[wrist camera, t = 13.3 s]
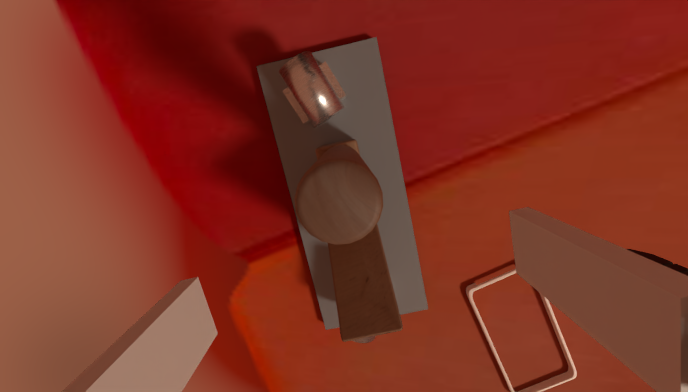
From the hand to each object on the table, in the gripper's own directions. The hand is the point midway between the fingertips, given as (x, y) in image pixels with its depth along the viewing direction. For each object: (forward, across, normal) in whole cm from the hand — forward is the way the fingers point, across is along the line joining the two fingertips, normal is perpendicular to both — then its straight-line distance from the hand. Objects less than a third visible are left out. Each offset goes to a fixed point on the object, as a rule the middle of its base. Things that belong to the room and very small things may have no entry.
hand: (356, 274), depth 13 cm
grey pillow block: (+19, -1, +9) cm, 21 cm away
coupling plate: (+19, 0, -1) cm, 19 cm away
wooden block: (+18, 0, -1) cm, 18 cm away
